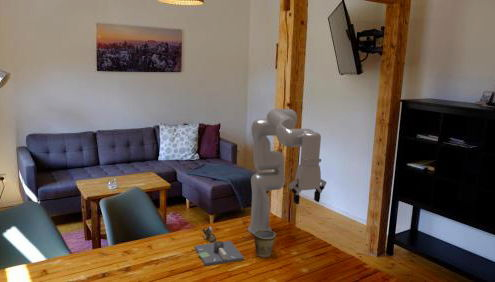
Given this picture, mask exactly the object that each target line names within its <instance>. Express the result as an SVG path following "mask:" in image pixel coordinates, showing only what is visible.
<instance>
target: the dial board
mask: <svg viewBox="0 0 495 282" xmlns="http://www.w3.org/2000/svg"><path fill="white" fill-rule="evenodd" d="M222 242H223V243H224V251H225V252H226V254H227V259H225V260H223V259H222V257H221V256H220V254H218V253H215V252H214V243H206V244H205V243H204V244H197V245H194V249H195V251H196V253H197V255H198V257H199V258H200V259H201V262H202V263H203V265H204V266H205V267H208V266H212V265H219V264H226V263H232V262H241V261H244V260H245V257H244V255H243V254H242V253H241V252H240V250H238V248H237V247H236V246H235V244H234V243H233V241H231V240H227V241H222Z"/></svg>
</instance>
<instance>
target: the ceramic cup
mask: <svg viewBox="0 0 495 282" xmlns="http://www.w3.org/2000/svg"><path fill="white" fill-rule="evenodd" d="M276 236H277V235H276V232H275V231H272V230H271V231H270V230H264V229H263V230H257V231H255V232H254V234H253V239H254V247H255V253H256V255H258V257H262V258H268V257H270V255H271V254H272V251H273V246H274V243H275V239H276Z"/></svg>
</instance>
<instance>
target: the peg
mask: <svg viewBox="0 0 495 282" xmlns="http://www.w3.org/2000/svg"><path fill="white" fill-rule="evenodd" d="M223 242H224V241H220V240H216V241H215V242H214V252H215V253H218V254H220V256H221V257H222V259H223V260H225V259H227V254H226V252H225V251H224V243H223Z"/></svg>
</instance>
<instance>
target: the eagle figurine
mask: <svg viewBox="0 0 495 282" xmlns="http://www.w3.org/2000/svg"><path fill="white" fill-rule="evenodd" d="M199 230H200V231H201V232H203V233H204V239H203V240H206V239H207V238H209V240H208V242H209V244H211V243H214V242H216V241H217V238H216V236H215V234H214V233H213V228H212V226H208V227H207V228H206V229H205V227H203V228H200V227H199Z"/></svg>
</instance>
